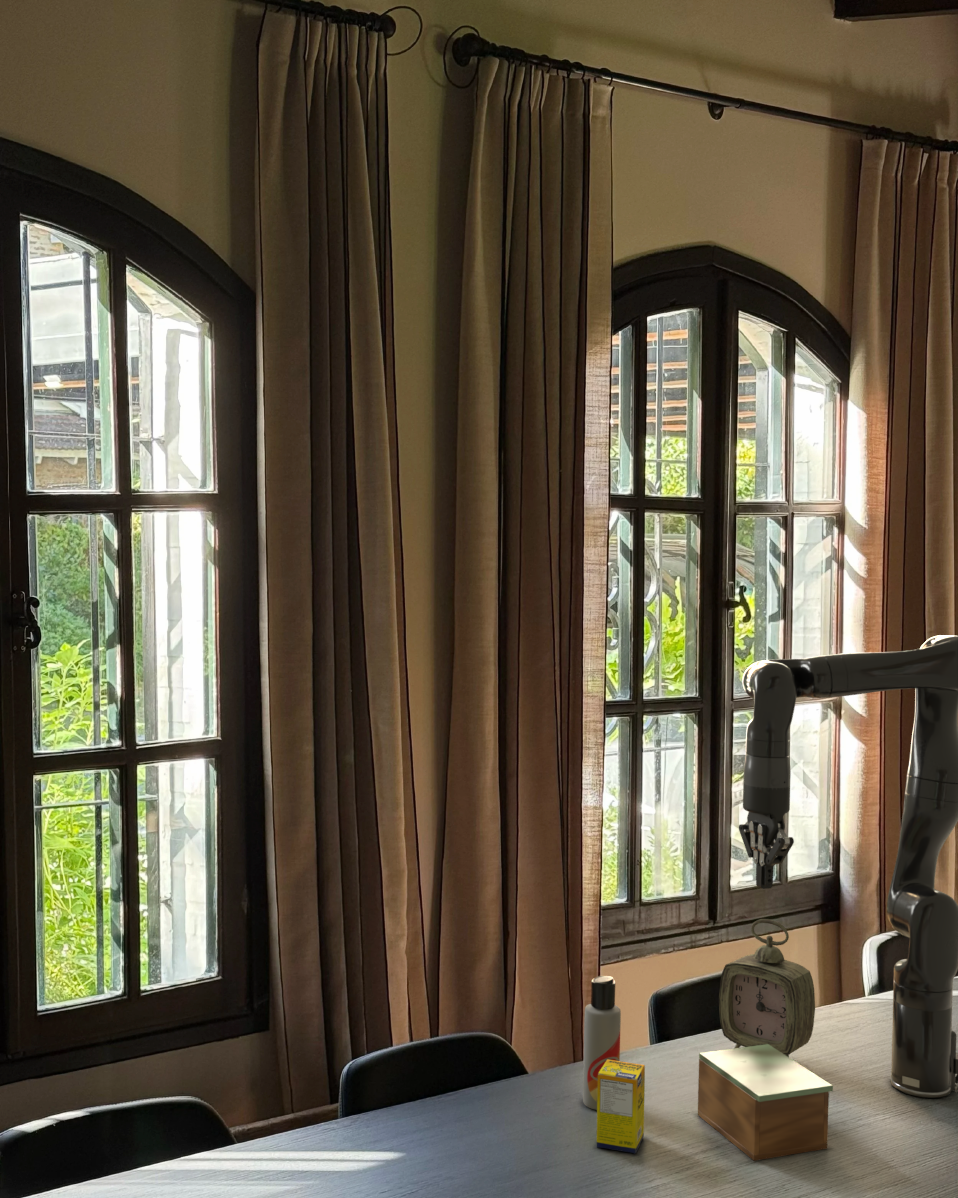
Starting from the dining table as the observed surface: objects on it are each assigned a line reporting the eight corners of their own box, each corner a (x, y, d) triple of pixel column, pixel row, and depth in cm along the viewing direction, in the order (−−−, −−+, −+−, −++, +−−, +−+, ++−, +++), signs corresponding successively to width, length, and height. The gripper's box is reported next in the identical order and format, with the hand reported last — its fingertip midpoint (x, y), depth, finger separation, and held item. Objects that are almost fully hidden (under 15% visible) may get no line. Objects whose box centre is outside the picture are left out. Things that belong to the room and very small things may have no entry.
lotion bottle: (617, 1113, 184) (620, 985, 184) (580, 1109, 185) (583, 981, 185) (620, 1098, 189) (623, 973, 189) (584, 1094, 190) (587, 970, 190)
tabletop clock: (717, 1059, 206) (720, 916, 206) (742, 1045, 213) (745, 906, 213) (794, 1083, 197) (798, 933, 197) (818, 1067, 203) (821, 922, 203)
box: (827, 1149, 173) (829, 1089, 173) (754, 1161, 169) (755, 1100, 169) (766, 1104, 188) (768, 1049, 188) (697, 1115, 184) (698, 1058, 184)
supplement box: (644, 1137, 176) (645, 1064, 176) (636, 1155, 170) (637, 1079, 170) (604, 1130, 178) (606, 1058, 178) (595, 1148, 172) (597, 1073, 172)
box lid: (832, 1091, 173) (833, 1085, 173) (759, 1102, 168) (759, 1096, 168) (768, 1049, 188) (768, 1044, 188) (698, 1058, 184) (699, 1052, 184)
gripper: (810, 788, 190) (807, 896, 190) (763, 775, 202) (760, 876, 202) (770, 789, 187) (767, 899, 187) (725, 777, 199) (722, 879, 200)
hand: (764, 887), depth 195 cm, fingers closed
